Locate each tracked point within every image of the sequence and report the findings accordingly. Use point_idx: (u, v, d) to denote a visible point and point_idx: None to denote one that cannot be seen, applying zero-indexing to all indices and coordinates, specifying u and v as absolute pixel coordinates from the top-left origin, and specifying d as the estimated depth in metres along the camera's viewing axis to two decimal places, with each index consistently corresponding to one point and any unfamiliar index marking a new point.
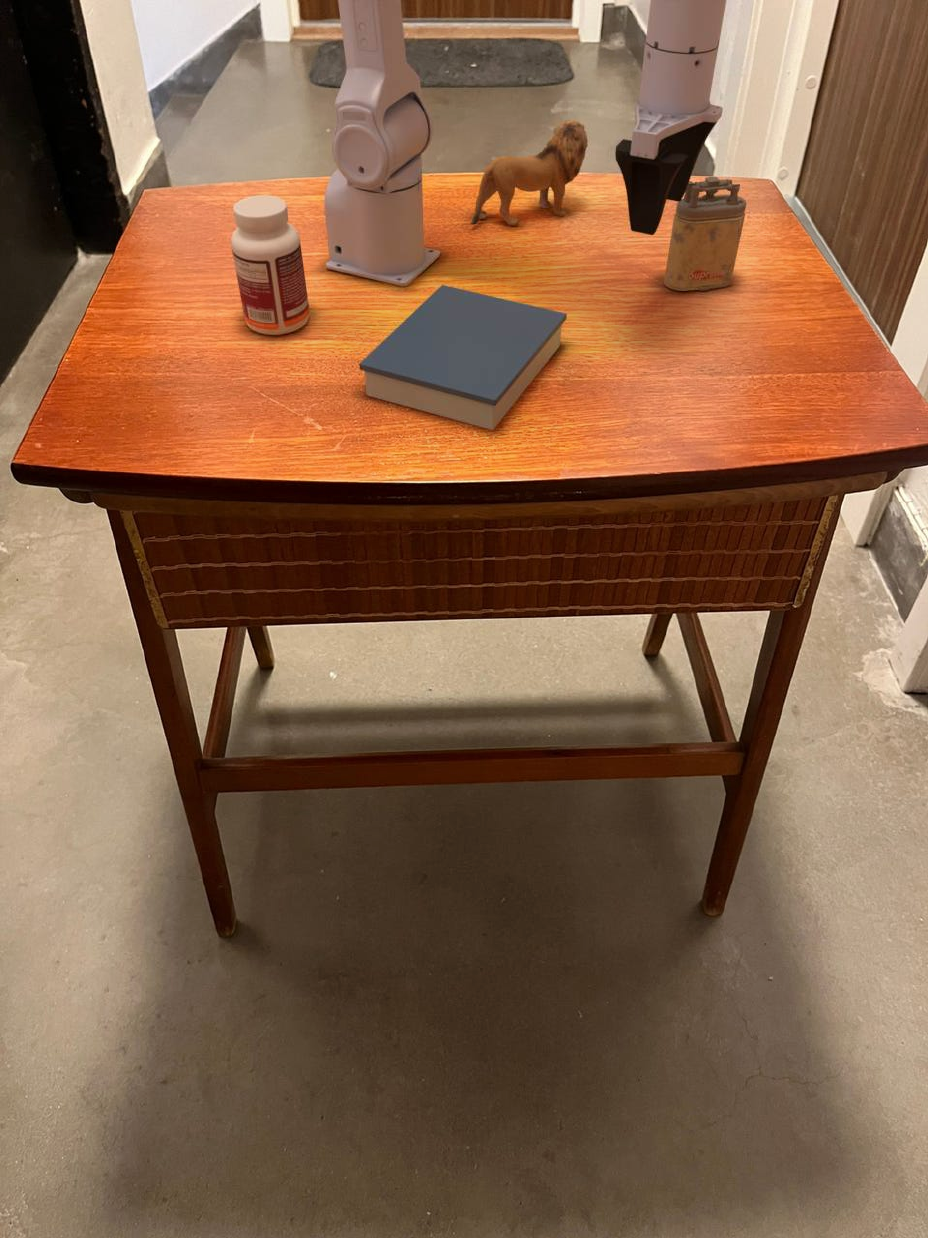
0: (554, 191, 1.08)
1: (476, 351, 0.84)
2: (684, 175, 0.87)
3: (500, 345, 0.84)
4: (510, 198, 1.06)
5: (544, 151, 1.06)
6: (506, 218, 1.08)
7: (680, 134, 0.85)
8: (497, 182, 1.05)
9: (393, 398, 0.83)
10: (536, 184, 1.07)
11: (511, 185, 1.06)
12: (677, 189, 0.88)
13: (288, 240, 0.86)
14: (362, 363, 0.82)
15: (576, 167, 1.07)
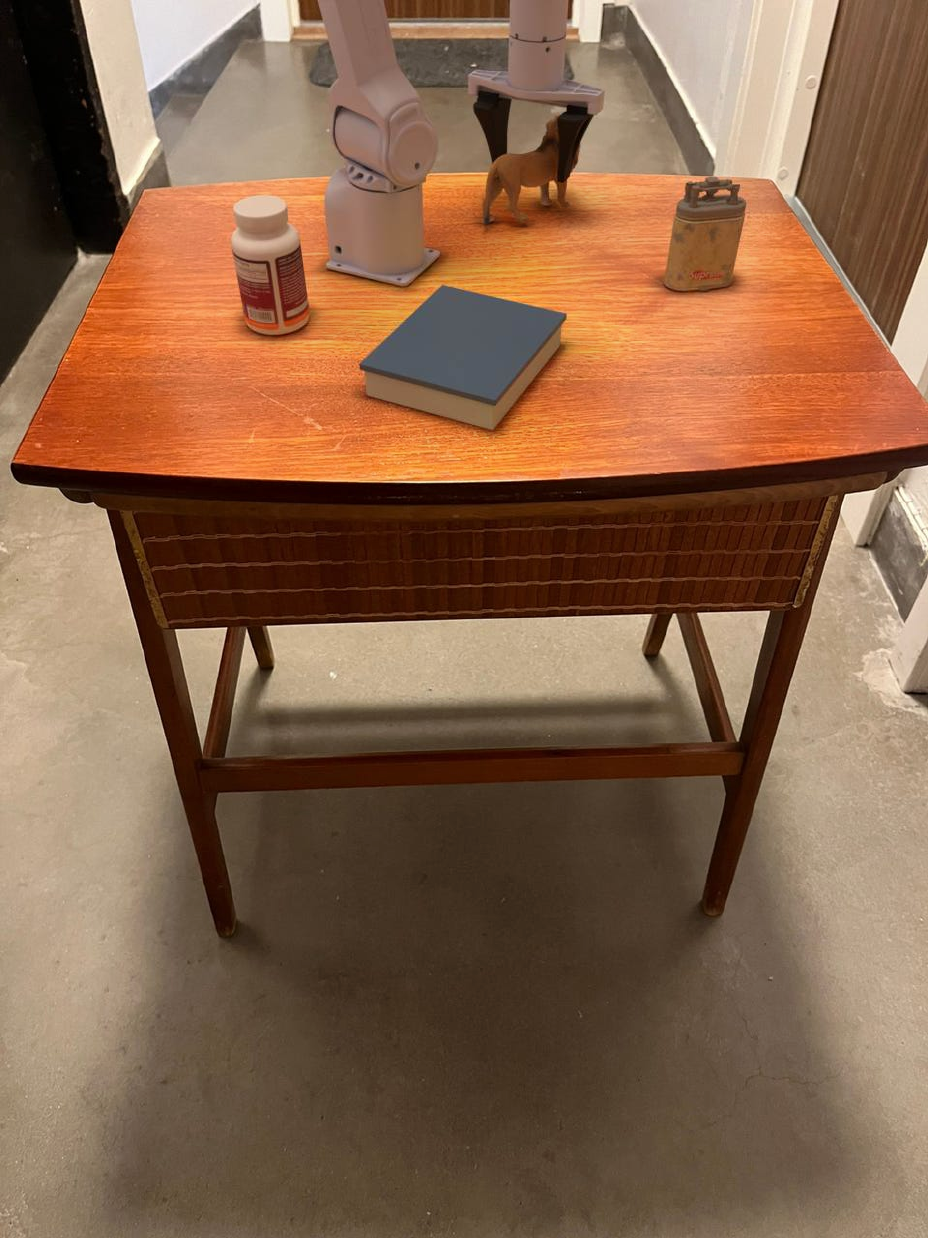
0: (557, 183, 1.08)
1: (476, 351, 0.84)
2: (505, 142, 1.08)
3: (500, 345, 0.84)
4: (518, 194, 1.06)
5: (542, 144, 1.06)
6: (516, 215, 1.07)
7: (502, 113, 1.05)
8: (503, 179, 1.05)
9: (393, 398, 0.83)
10: (540, 177, 1.07)
11: (517, 180, 1.05)
12: None
13: (288, 240, 0.86)
14: (362, 363, 0.82)
15: (575, 156, 1.08)
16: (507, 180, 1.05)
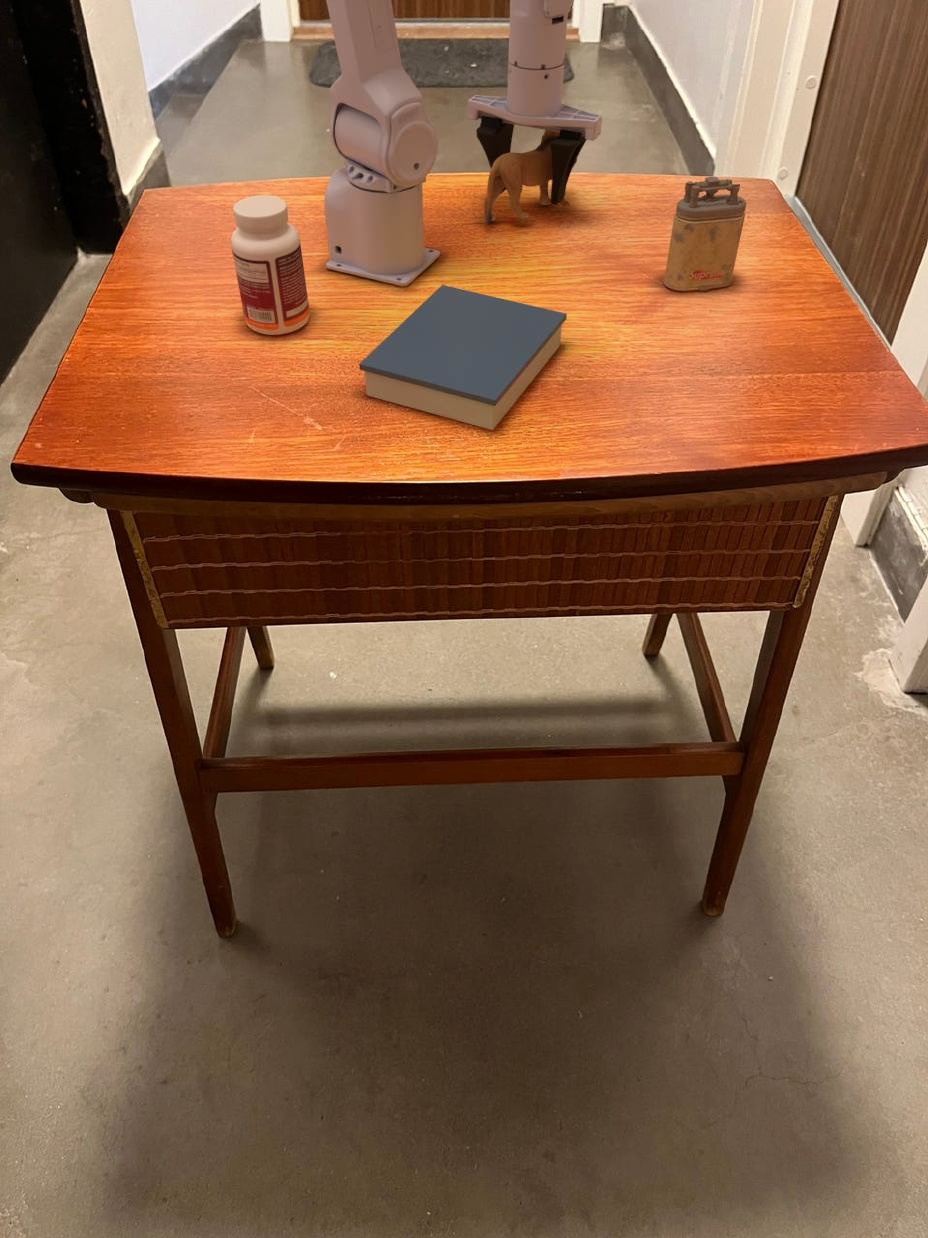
0: None
1: (476, 351, 0.84)
2: None
3: (500, 345, 0.84)
4: (519, 192, 1.06)
5: (542, 143, 1.06)
6: (518, 214, 1.07)
7: (505, 138, 1.06)
8: (505, 178, 1.05)
9: (393, 398, 0.83)
10: (541, 176, 1.07)
11: (519, 179, 1.05)
12: None
13: (288, 240, 0.86)
14: (362, 363, 0.82)
15: None
16: (509, 179, 1.05)
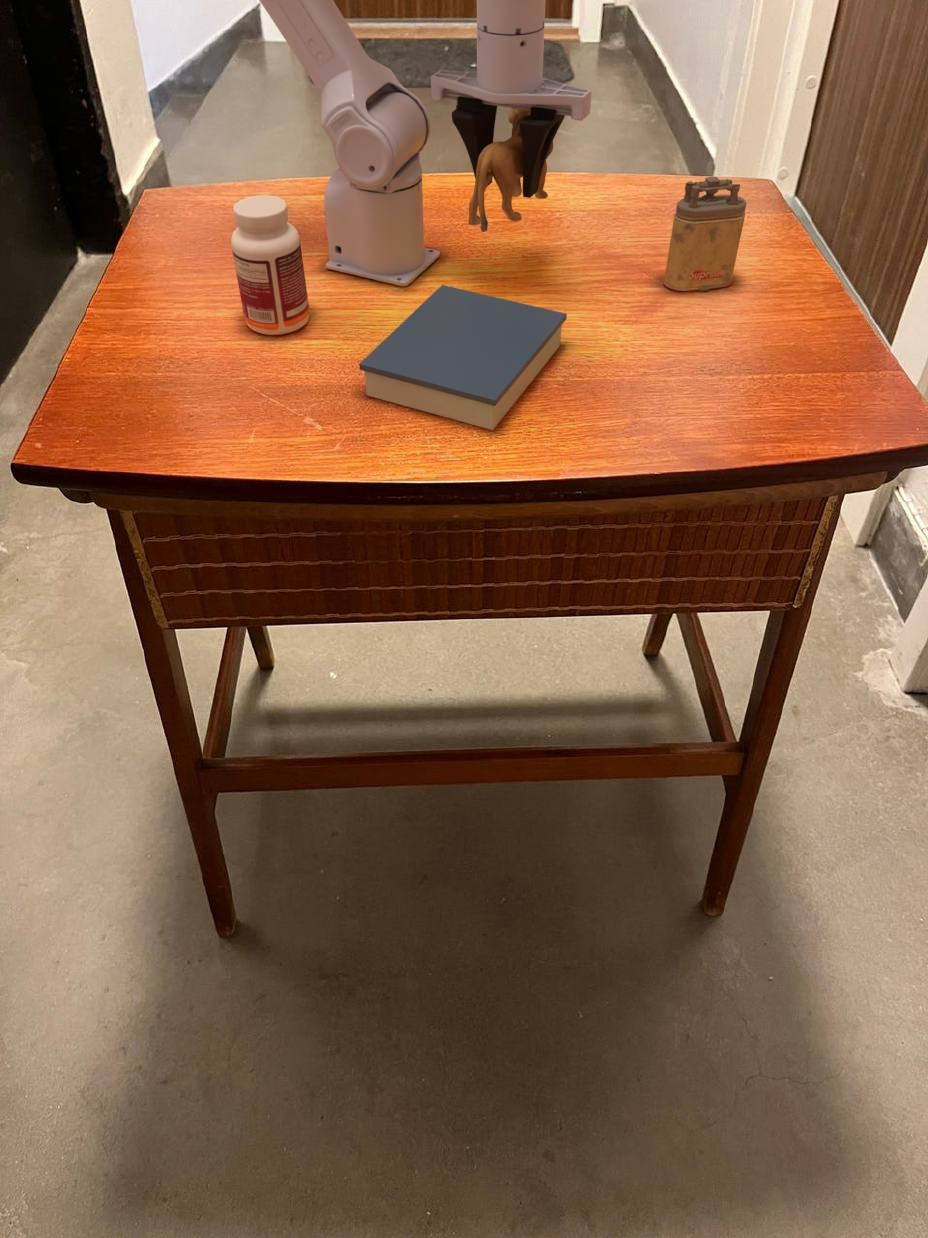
0: None
1: (476, 351, 0.84)
2: None
3: (500, 345, 0.84)
4: (513, 189, 0.90)
5: None
6: (511, 214, 0.91)
7: (486, 122, 0.89)
8: (499, 174, 0.88)
9: (393, 398, 0.83)
10: None
11: (513, 174, 0.89)
12: None
13: (288, 240, 0.86)
14: (362, 363, 0.82)
15: None
16: (504, 175, 0.88)
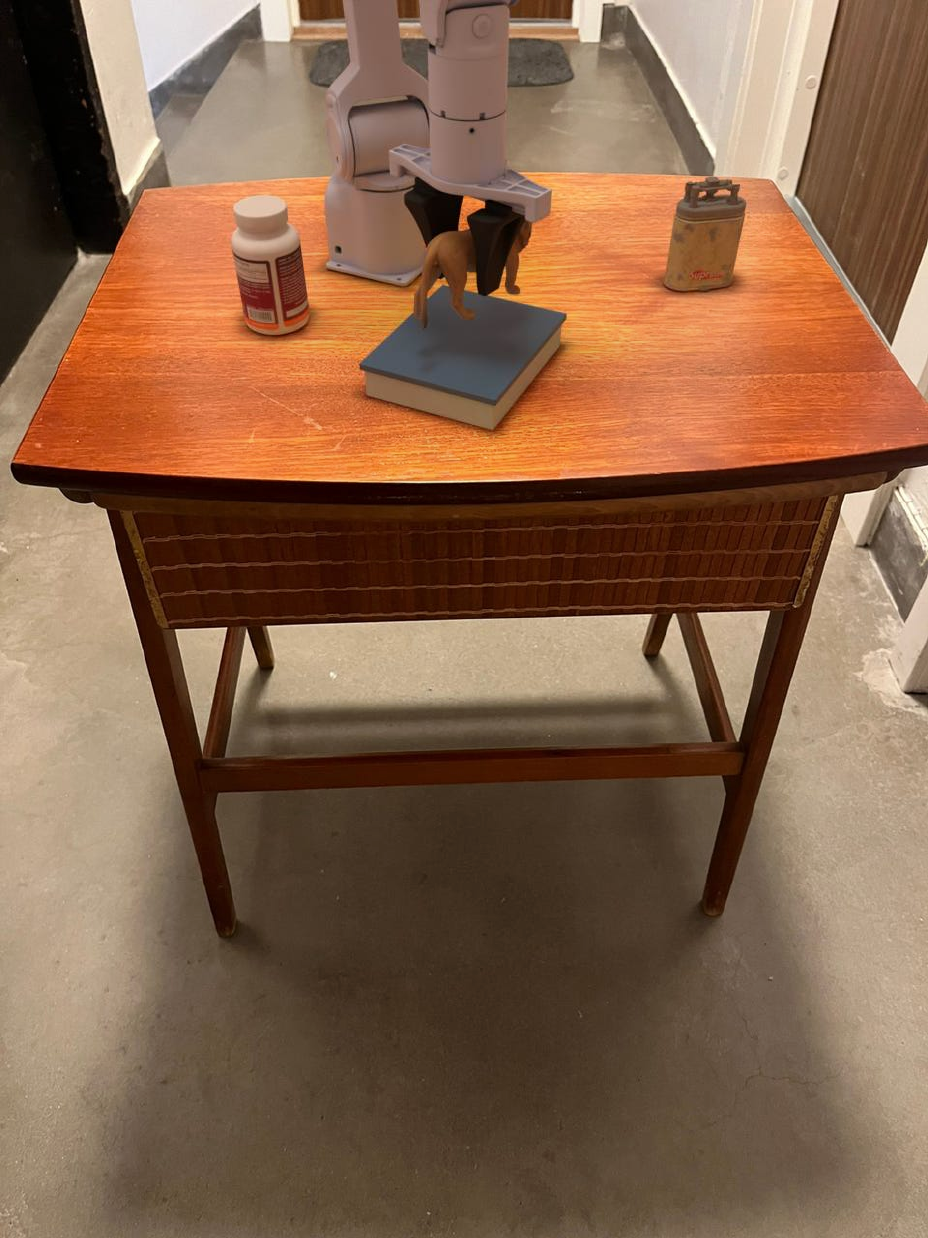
0: (507, 265, 0.82)
1: (476, 351, 0.84)
2: None
3: (500, 345, 0.84)
4: (464, 286, 0.79)
5: None
6: (461, 312, 0.80)
7: (446, 207, 0.79)
8: (446, 269, 0.78)
9: (393, 398, 0.83)
10: None
11: (464, 269, 0.78)
12: None
13: (288, 240, 0.86)
14: (362, 363, 0.82)
15: (529, 230, 0.81)
16: (451, 270, 0.78)
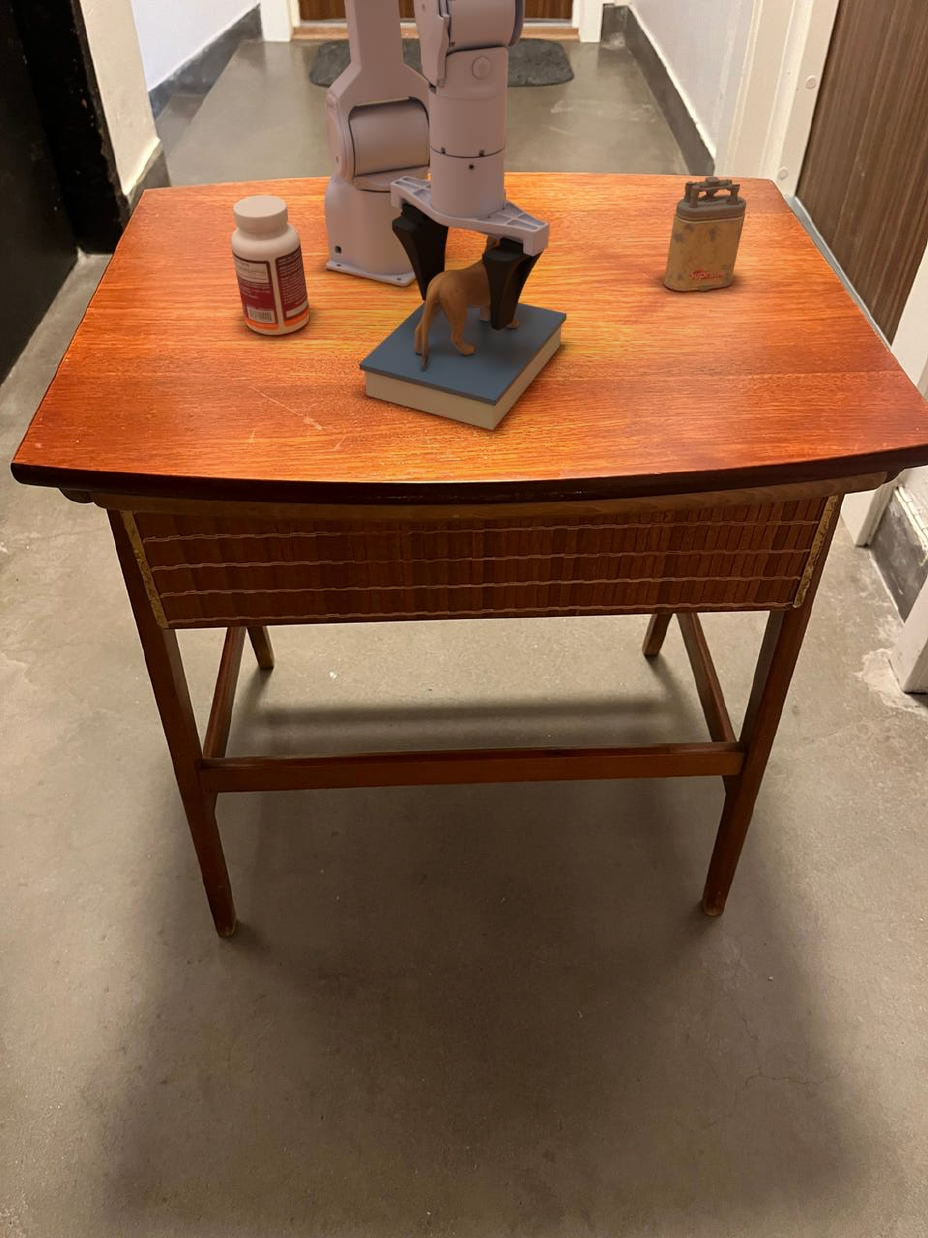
0: None
1: (476, 351, 0.84)
2: (441, 268, 0.84)
3: (500, 345, 0.84)
4: (464, 323, 0.81)
5: None
6: (461, 347, 0.82)
7: (433, 233, 0.81)
8: (446, 307, 0.80)
9: (393, 398, 0.83)
10: (489, 298, 0.82)
11: (464, 307, 0.80)
12: None
13: (288, 240, 0.86)
14: (362, 363, 0.82)
15: None
16: (452, 308, 0.80)
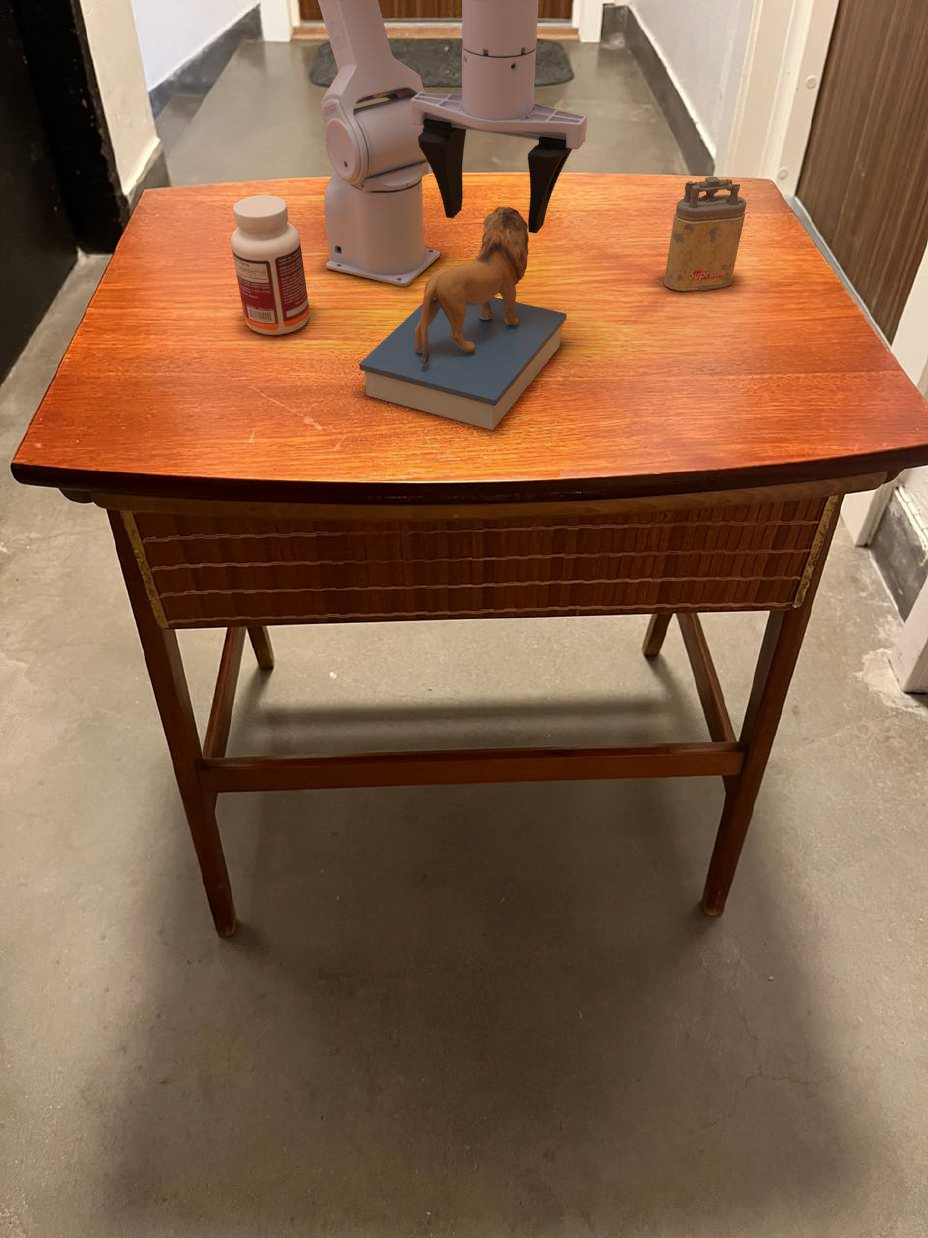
0: (505, 297, 0.84)
1: (476, 351, 0.84)
2: (460, 182, 0.85)
3: (500, 345, 0.84)
4: (463, 319, 0.81)
5: (487, 252, 0.81)
6: (461, 344, 0.82)
7: (455, 146, 0.82)
8: (445, 303, 0.80)
9: (393, 398, 0.83)
10: (487, 294, 0.82)
11: (462, 303, 0.80)
12: (460, 199, 0.86)
13: (288, 240, 0.86)
14: (362, 363, 0.82)
15: (525, 262, 0.83)
16: (450, 304, 0.80)
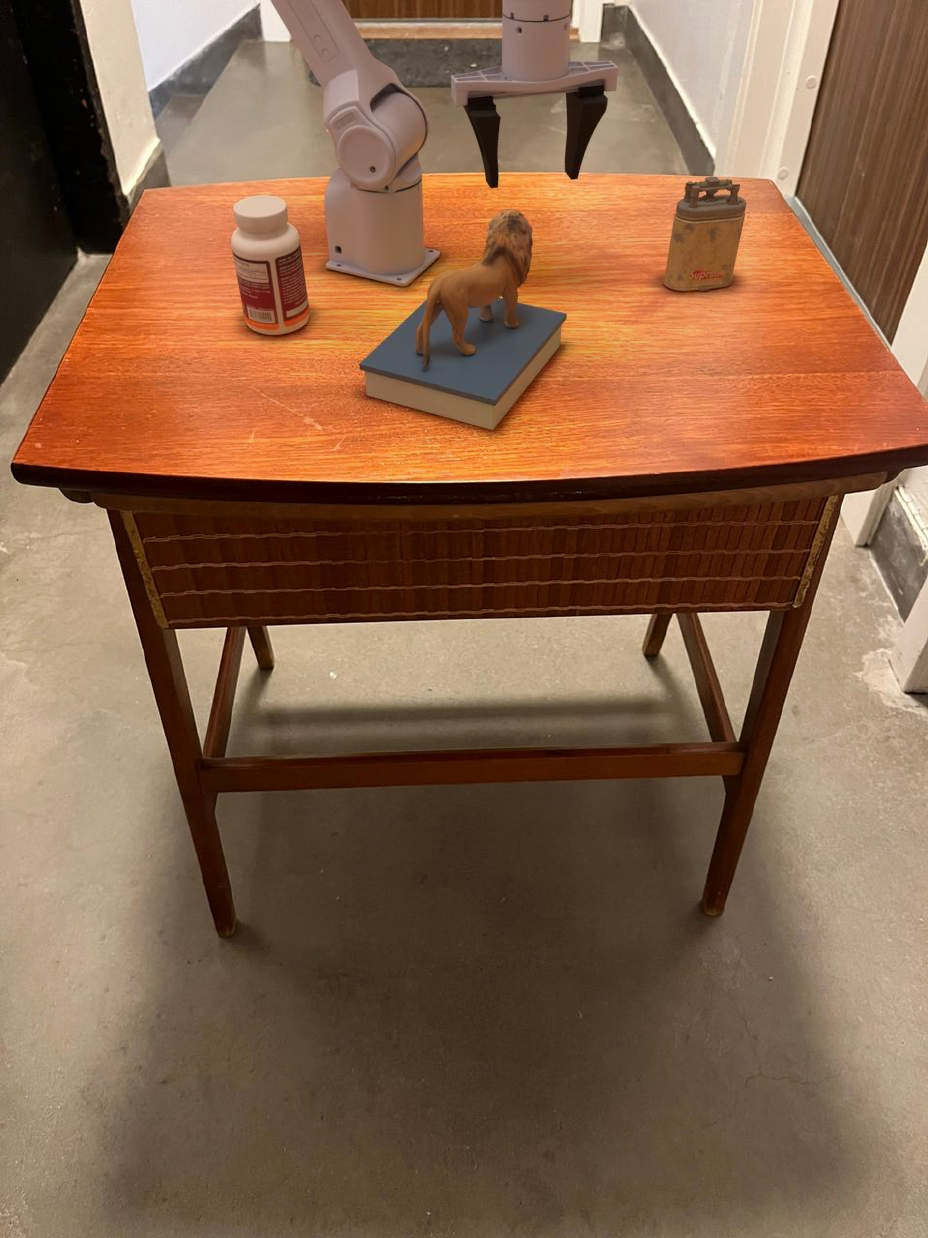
0: (507, 301, 0.84)
1: (476, 351, 0.84)
2: None
3: (500, 345, 0.84)
4: (465, 323, 0.81)
5: (492, 255, 0.81)
6: (462, 347, 0.82)
7: None
8: (448, 307, 0.80)
9: (393, 398, 0.83)
10: (489, 298, 0.82)
11: (465, 307, 0.80)
12: None
13: (288, 240, 0.86)
14: (362, 363, 0.82)
15: (528, 266, 0.83)
16: (453, 308, 0.80)
